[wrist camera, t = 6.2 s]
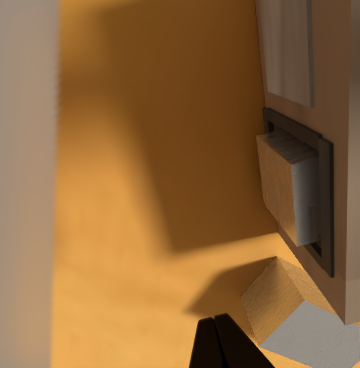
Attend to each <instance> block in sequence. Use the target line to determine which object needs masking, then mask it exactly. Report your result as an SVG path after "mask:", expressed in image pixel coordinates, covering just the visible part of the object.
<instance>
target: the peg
mask: <svg viewBox="0 0 360 368" xmlns="http://www.w3.org/2000/svg"><path fill="white" fill-rule="evenodd" d="M256 141H257V149H258V157H259V166H260V174H261V182H262V190H263V199H264V204H265V206H266V207H267V208H268V209H269V211H270V212H271V213H272V215H273V216H274V217H275V219H276V220H277V221H278V223H279V224H280V225H281V227H282V228H283V229H284V231H285V232H286V233H287V234H288V236H289V237H290V238H291V240H292V241H293V242H294V244H295V245H296V246H297V247H299V246H303V245H307V244H311V243H314V242H318V241H321V217H320V181H319V151H317V150H316V149H314V148H312V147H311V146H309V145H308V144H306V143H304V142H303V141H301V140H299V139H298V138H296V137H295V136H293V135H291V134H290V133H288V132H286V131H285V130H283V129H281V130H277V131H273V132H269V133H265V134H261V135H257V136H256Z"/></svg>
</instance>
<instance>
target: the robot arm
mask: <svg viewBox="0 0 360 368" xmlns="http://www.w3.org/2000/svg"><path fill="white" fill-rule="evenodd" d="M213 319H214V320H213ZM214 323H215V324H214ZM189 368H275V367H274V366H273V365H272V364H271V362H270V361H269V360H268V359H267V358H266V357H265V356H264V354H263V353H262V352H261V351H260V350H259V349H258V348H257V346H256V345H255V344H254V343H253V342H252V341H251V340H250V338H249V337H248V336H247V335H246V334H245V333H244V331H243V330H242V329H241V328H240V327H239V326H238V325H237V323H236V322H235V321H234V320H233V319H232V318H231V317H230V315H229V314H227V313H224V314H220V315H216V316H214V318H212V317H208V318H205V319H201V320H199V321H198V324H197V329H196V334H195V339H194V344H193V349H192V354H191V359H190V364H189Z"/></svg>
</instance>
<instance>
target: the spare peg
mask: <svg viewBox="0 0 360 368" xmlns="http://www.w3.org/2000/svg"><path fill="white" fill-rule="evenodd" d="M240 298H241V301H242V304H243V306H244V309H245V312H246V314H247V317H248V319H249V322H250V325H251V327H252V330H253V332H254V335H255V338H256V340H257V343H258V346H259V347H261V348H264V349H266V350H269V351H272V352H274V353H277V354H279V355H282V356H284V357H287V358H290V359H292V360H295V361H297V362H300V363H303V364H305V365H308V366H310V367H313V368H352V367H353V366H354V365H355V364H356V363H358V362H359V361H360V322H357V323H354V324H350V325H346V326H345V325H344V323H343V322H342V321H341V319H340V318H339V316H338V315H337V314H336V312H335V311H334V309H333V308H332V307H331V305H330V304H329V303H328V301H327V300H326V298H325V297H324V296H323V294H322V293H321V291H320V290H319V289H318V287H317V286H316V284H315V283H314V282H313V280H312V279H311V277H310V276H309V275H308V273H307V272H306V271H305V270H303V269H301V268H299V267H297V266H295V265H294V264H292V263H290V262H288V261H286V260H284V259H282V258H280V257H278V256H276V257H275V258H274V259H273V260H272V262H271V263H270V264H269V265H268V266H267V267H266V268H265V269H264V271H263V272H262V273H261V274H260V275H259V276H258V277H257V279H256V280H255V281H254V282H253V283H252V284H251V285H250V286H249V288H248V289H247V290H246V291H245V292H244V293H243V294H242V295H241V297H240Z"/></svg>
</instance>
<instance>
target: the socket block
mask: <svg viewBox="0 0 360 368" xmlns="http://www.w3.org/2000/svg"><path fill="white" fill-rule="evenodd" d="M255 8H256V18H257V28H258V38H259V48H260V58H261V67H262V77H263V87H264V97H265V107H266V108H263V115H264V125H265V133H269V132H273V131H277V130H281V129H283V130H285V131H286V132H288V133H290V134H291V135H293V136H295V137H296V138H298V139H299V140H301V141H303V142H304V143H306V144H308V145H309V146H311V147H312V148H314V149H316V150H317V151H319V181H320V217H321V241H318V242H314V243H311V244H307V245H303V246H299V247H297V246H296V245H295V244H294V242H293V241H292V240H291V238H290V237H289V236H288V234H287V233H286V232H285V231H284V229H283V228H282V227H281V225H280V224H279V223H278V221H277V225H278V233H279V234H280V236H281V237H282V239H283V240H284V241H285V243H286V244H287V245H288V247H289V248H290V250H291V251H292V252H293V254H294V255H295V257H296V258H297V259H298V261H299V262H300V264H301V265H302V266H303V268H304V269H305V271H306V272H307V273H308V275H309V276H310V277H311V279H312V280H313V282H314V283H315V284H316V286H317V287H318V289H319V290H320V291H321V293H322V294H323V296H324V297H325V298H326V300H327V301H328V303H329V304H330V305H331V307H332V308H333V309H334V311H335V312H336V314H337V315H338V316H339V318H340V319H341V321H342V322H343V323H344V325H345V326H346V325H350V324H354V323H357V322H360V0H255Z"/></svg>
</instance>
